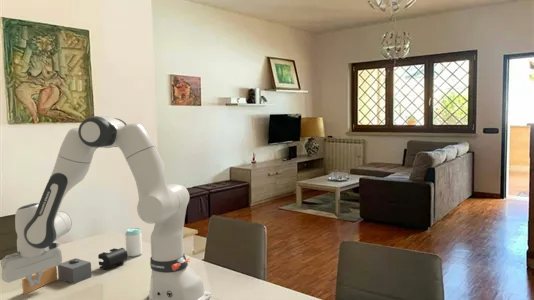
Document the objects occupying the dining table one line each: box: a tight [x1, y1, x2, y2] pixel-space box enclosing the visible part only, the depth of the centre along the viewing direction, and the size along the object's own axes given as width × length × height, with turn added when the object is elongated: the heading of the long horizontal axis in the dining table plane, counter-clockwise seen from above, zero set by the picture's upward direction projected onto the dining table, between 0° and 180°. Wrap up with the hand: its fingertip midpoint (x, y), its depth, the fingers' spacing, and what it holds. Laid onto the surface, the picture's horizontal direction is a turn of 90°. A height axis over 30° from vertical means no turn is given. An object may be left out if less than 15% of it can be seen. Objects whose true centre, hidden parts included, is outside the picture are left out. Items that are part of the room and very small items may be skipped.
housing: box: [57, 258, 93, 285], centre depth 158 cm, size 10×8×7 cm
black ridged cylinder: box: [97, 247, 129, 271], centre depth 170 cm, size 10×7×7 cm
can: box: [124, 227, 143, 258], centre depth 184 cm, size 7×7×12 cm
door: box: [21, 266, 58, 295], centre depth 151 cm, size 14×2×6 cm, turn 159°
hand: (34, 284), depth 145 cm, fingers closed
